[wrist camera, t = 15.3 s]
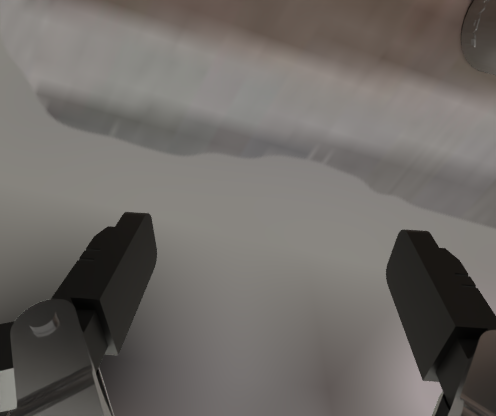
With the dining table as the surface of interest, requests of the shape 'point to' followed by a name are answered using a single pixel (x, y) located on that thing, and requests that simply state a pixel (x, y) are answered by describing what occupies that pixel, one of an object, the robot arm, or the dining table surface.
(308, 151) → the dining table surface
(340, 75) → the dining table surface
